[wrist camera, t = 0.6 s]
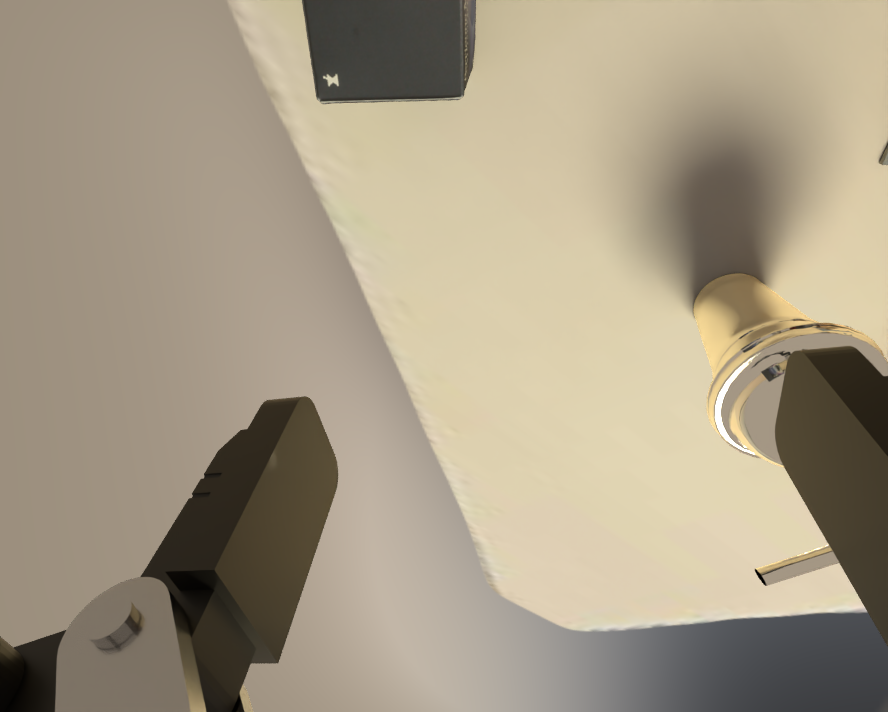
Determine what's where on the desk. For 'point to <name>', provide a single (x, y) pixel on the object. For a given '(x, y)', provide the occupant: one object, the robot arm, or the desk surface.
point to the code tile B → (884, 157)
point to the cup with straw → (762, 375)
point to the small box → (390, 49)
